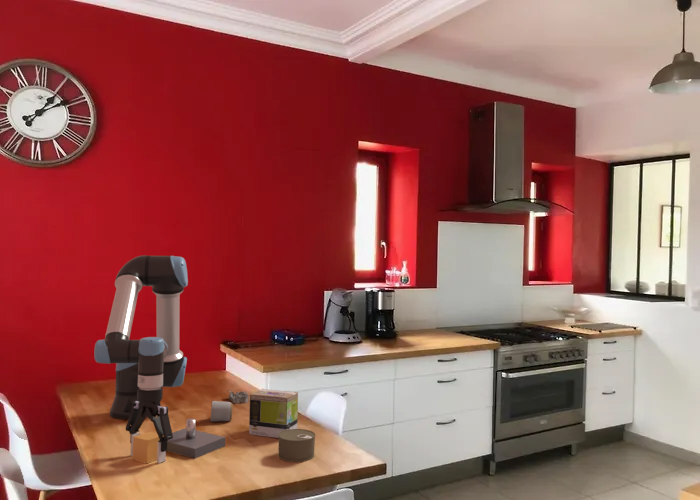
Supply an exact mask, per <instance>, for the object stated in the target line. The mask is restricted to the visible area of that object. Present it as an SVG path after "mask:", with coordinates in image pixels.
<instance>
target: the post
mask: <svg viewBox="0 0 700 500" xmlns="http://www.w3.org/2000/svg"><path fill="white" fill-rule="evenodd" d="M185 422H186V425H185V428H186V439H194V438H195V430H196V428H197V427H196V425H197V424H196V422H197V421H196V418H187V419H186V420H185Z"/></svg>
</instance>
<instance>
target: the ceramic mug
mask: <svg viewBox="0 0 700 500" xmlns="http://www.w3.org/2000/svg"><path fill="white" fill-rule="evenodd" d="M233 404H234V403H233V402H232V401H231V402H230V401H219V400H212V401H211V406H210V410H211V411H210V422H211V423H212V422H214V423H216V422H217V423H218V422H230V421H232V420H233V419H232V418H233Z"/></svg>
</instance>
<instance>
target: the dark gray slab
mask: <svg viewBox="0 0 700 500" xmlns="http://www.w3.org/2000/svg"><path fill="white" fill-rule="evenodd" d="M172 435H173V438H172V439H169V440H168V441H167V451H166V452H169V453H173V454H177V455H181V456H184V457H187V458H192V459H197V458H200V457H202V456H204V455H207V454H209V453H211V452H214V451H216V450H220V449H222V448H224V447H226V439H227V438H226V437H225V436H223V435H218V434H213V433H209V432H207V431H206V432H205V431H201V430H197V429H195V438H194V439H186V427H184V428H182V429H180V430H177V431H172Z"/></svg>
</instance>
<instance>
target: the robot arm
mask: <svg viewBox="0 0 700 500" xmlns="http://www.w3.org/2000/svg"><path fill="white" fill-rule="evenodd" d="M114 280H115V281H114V286H115V288H116V290H115V294H114V297H113V298H114V299H113V301H112V305H111V306H112V307H111V310H110V315H109V319H108V323H107V328H106V332H105V337H104V339H98V340H97V341H96V342H95V344H94V352H93V353H94V356H93V358H94V360H95V362H96V363H98V364H107V365H108V364H109V365H110V364H115V371H114V372H115V393H114V394H115V395H114V398H113V402H112V404H111V407H110V409H109V416H110V418H112V419H116V420H117V419H118V420H127V423H126V424H125V425H126V426H125V431H126V432H129V435H130V456H131V457H133V437H135V436H138V435H141V432H140V428H141V427H142V425H143V423H144V421H145V420H146V418H147V419H149V420H150V422H151V423H152V425H153V426H154V428H155V431H156V432H155V433H157V434H158V437H159V439H160V440H159V441H158V447H157V460H156V463H157V464H160V463H161V464H162V463H164V462H166V460H167V459H166V457H167V453H166V452H168V451H167V441H168V440H169V439H172V438H173V435H172V433H173V430H172V426H171V421H170V417H169V407H168V406H167V405H166V406H162V405H161V402H162V399H163V395H164V394H163V393H164V392H163V391H164V389H163V388H177V387H181V386H182V385H183V384H184V382H185V381H184V380H185V374H186V368H187V361H188V358H187V357H186V356H184V352H183V351H182V350H180V305H181V304H180V299H181V298H180V295H181V294H182V293H183V292H184V291H185V288H186V287H187V286H188V283H189V279H188V268H187V262H186V259H185V258H184V257H182V256H175V255H147V254H146V255H145V254H143V255H138V256H135V257H133V258H132V259H130V260H129V261H127V262H126V263H125V264H124V265H123V266H122V267H121V268H120V269H119V271H118V272H117V274H116V277H115V279H114ZM143 287H151V289H152V290H151V291H152V293H153V294H155V296H156V304H155V305H156V336H147V337H141V338H140V339H130V337H131V332H132V326H133V321H134V318H135V317H134V316H135V311H136V306H137V300H138V296H139V293H140V292H141V290H142V289H143ZM163 436H164V437H163Z"/></svg>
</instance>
